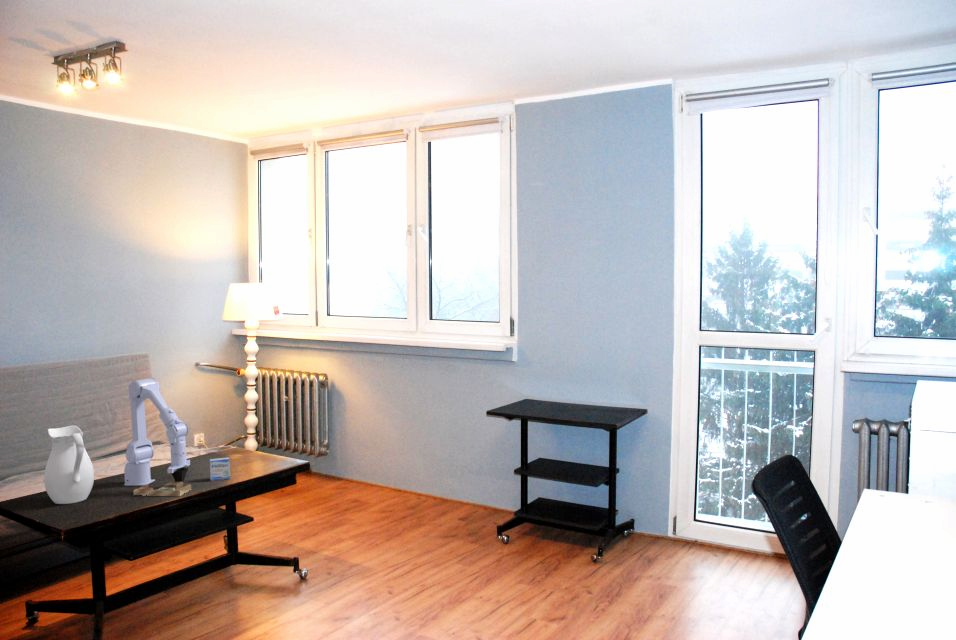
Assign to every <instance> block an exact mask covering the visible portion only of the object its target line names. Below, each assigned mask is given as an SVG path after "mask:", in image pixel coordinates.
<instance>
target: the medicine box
mask: <svg viewBox="0 0 956 640" xmlns="http://www.w3.org/2000/svg"><path fill="white" fill-rule="evenodd" d="M230 463H231V461H230V457H229V456H228V457H220V458H210V459H209V477H210V482H213V481H212V480H218V481H222V480H221V479H226V480H230V479H231V466H230V465H231V464H230Z"/></svg>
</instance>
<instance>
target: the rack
mask: <svg viewBox="0 0 956 640" xmlns="http://www.w3.org/2000/svg"><path fill="white" fill-rule="evenodd" d="M189 490H190V491H192V484H189V483H188V484H186V485H185V486H184V487H183V488H181V489H179V490H175V488H165V485H163V486H161V487H159V488H158V489H154V488H153V487H149V484H145V485H140V486H139V487H138V488H135V489H133V491H132V492H133V496H134V495H142V496H141V497H181V496H183V495H184V493H185V494H186V493H188V492H190V491H189ZM146 495H147V496H146Z"/></svg>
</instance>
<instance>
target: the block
mask: <svg viewBox="0 0 956 640" xmlns="http://www.w3.org/2000/svg"><path fill="white" fill-rule="evenodd" d="M164 486H165V488H175V490H179V489H181V488H183V487H185V486H184V485H183V482H175V481H170V482H168V483H166V484H164Z"/></svg>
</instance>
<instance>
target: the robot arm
mask: <svg viewBox="0 0 956 640" xmlns="http://www.w3.org/2000/svg"><path fill="white" fill-rule="evenodd" d="M160 388H161V386H160V384H159V382H158V380H157V378H155V377H150V378H145V379H138V380H135V379H134V380H132V381H131V382H130V383H129V384H128V396H129V402H130V404H129V406H130V420H131V422H130V424H131V434H132V435H131V437H132V438H131V440H130V442H128V443H127V445H126V451H125V459H126V461H127V463H126V464H125V465H124V469H123V470H124V471H123V472H124V484H123V486H143V485H145V484H148V485H149V484H151V483H153V482H155V481H156V479H154V478H153V479H152V476H151V475H152V473H151V461H152V459H153V457H154V455H155V450H154V449H155V448H154V447H153V441H151V440H150V439H148V438H147V426H146V425H147V424H146V423H147V421H146V407H145V406H146V405H145V402H146V399H149V400H150V401H151V402H152V404H153V405H154V407H155V408H156V409H157V410H158V411H159V416H158V417H159V418H160V420H161V422H162V423H163V425H164V426H165V428H166V429H167V430H166V433H165V434H166V436H167V438H168V442H169V444H170V445H169V446H170V465H169V467H168V468H167V474H171V475H172V477H173V479H174V480H173V481H174V482H183V486H184V484H185V480H186V476H187V473H188V471H189V468H188V467H189V466H190V465H191V459H187V447H186V446H187V445H186V444H187V443H186V442H187V441H186V436H188V434H189V426H188V425H187V423H186V422H184V421H182V420H181V419H180V418H179V417H178V415H177V414H176V412H175V411H174V409H173V408H171V407H168V405H167V403H166V401H165V400H164V398H163V396H162V393H161V392H160Z"/></svg>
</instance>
